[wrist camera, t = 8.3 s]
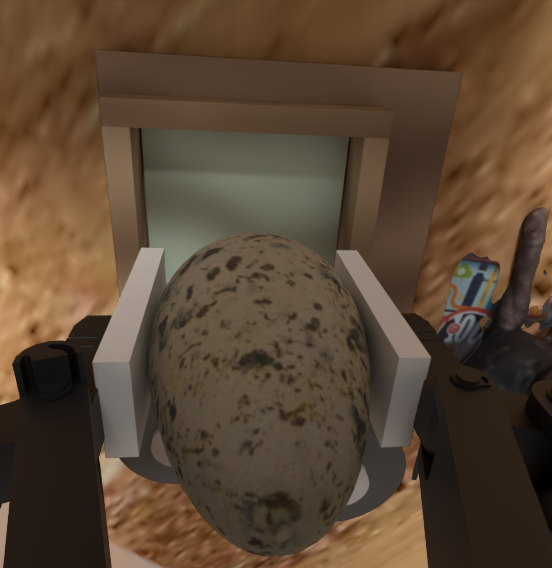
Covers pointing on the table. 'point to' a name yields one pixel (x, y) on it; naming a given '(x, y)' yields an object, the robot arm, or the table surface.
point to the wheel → (375, 477)
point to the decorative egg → (261, 390)
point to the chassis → (270, 165)
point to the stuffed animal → (501, 316)
